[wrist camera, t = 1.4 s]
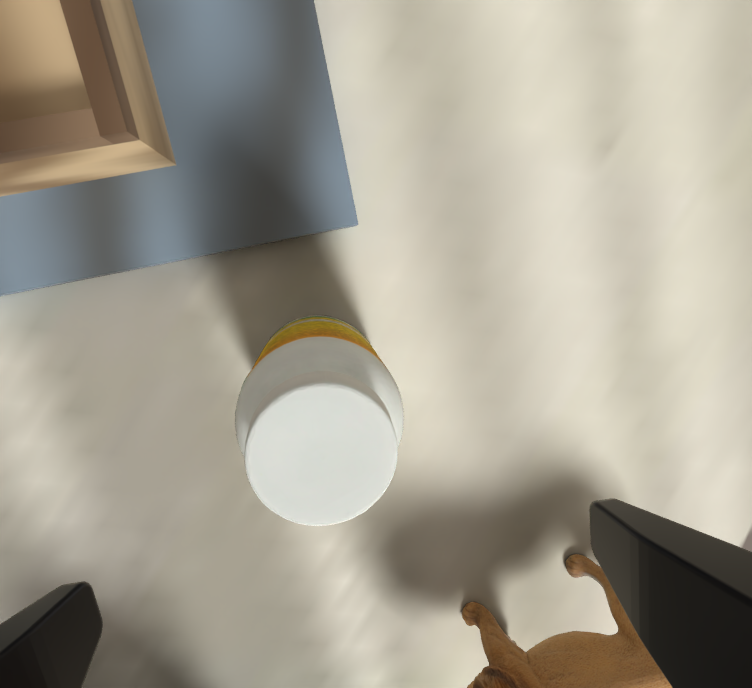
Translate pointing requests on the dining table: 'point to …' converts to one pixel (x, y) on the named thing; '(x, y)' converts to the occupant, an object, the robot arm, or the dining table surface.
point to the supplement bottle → (319, 423)
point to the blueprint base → (220, 152)
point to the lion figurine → (567, 650)
